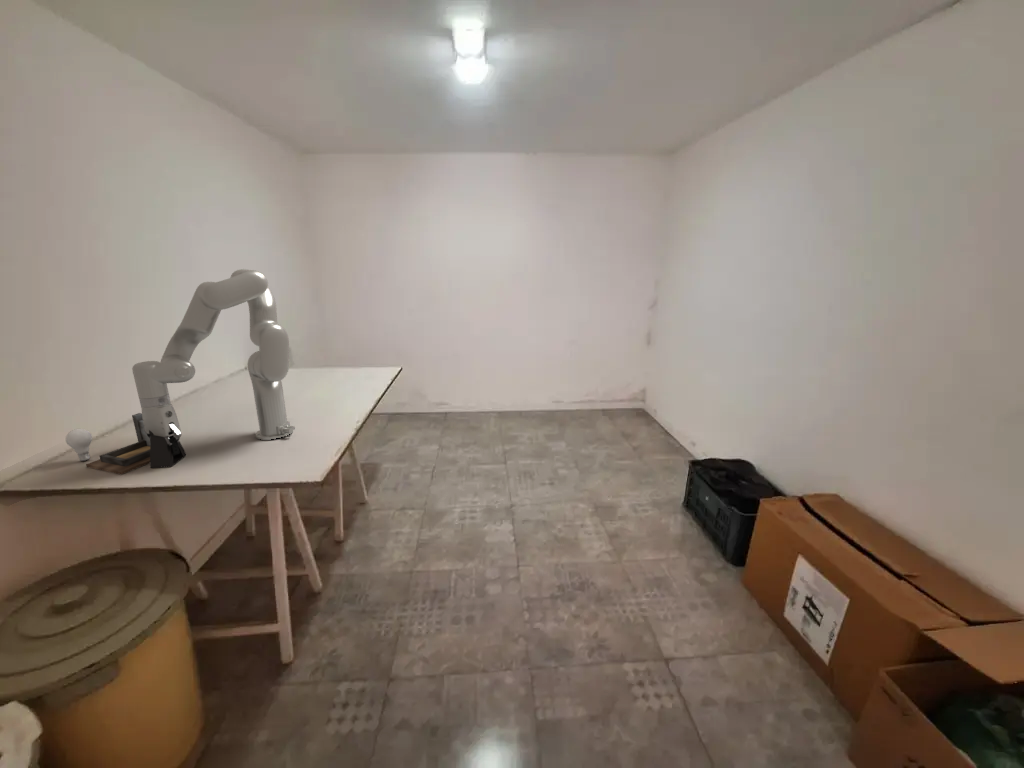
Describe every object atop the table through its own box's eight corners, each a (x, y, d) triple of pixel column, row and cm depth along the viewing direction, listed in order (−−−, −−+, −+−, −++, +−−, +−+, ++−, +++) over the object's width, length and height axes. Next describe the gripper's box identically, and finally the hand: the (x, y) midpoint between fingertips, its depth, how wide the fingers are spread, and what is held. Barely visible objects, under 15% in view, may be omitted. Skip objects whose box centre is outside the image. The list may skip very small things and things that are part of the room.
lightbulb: (71, 460, 153) (62, 429, 150) (97, 454, 157) (88, 424, 154) (72, 466, 148) (63, 434, 145) (98, 460, 153) (90, 429, 150)
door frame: (179, 451, 160) (172, 418, 157) (121, 474, 143) (112, 438, 140) (146, 445, 165) (139, 413, 162) (86, 467, 148) (77, 431, 145)
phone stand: (170, 467, 148) (162, 432, 144) (150, 468, 147) (141, 433, 144) (186, 455, 156) (179, 422, 153) (167, 456, 156) (160, 422, 152)
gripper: (186, 400, 147) (197, 452, 152) (148, 394, 152) (159, 445, 157) (162, 407, 140) (175, 462, 145) (123, 401, 145) (136, 454, 150)
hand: (167, 453), depth 151 cm, fingers closed on phone stand, 6 cm apart
